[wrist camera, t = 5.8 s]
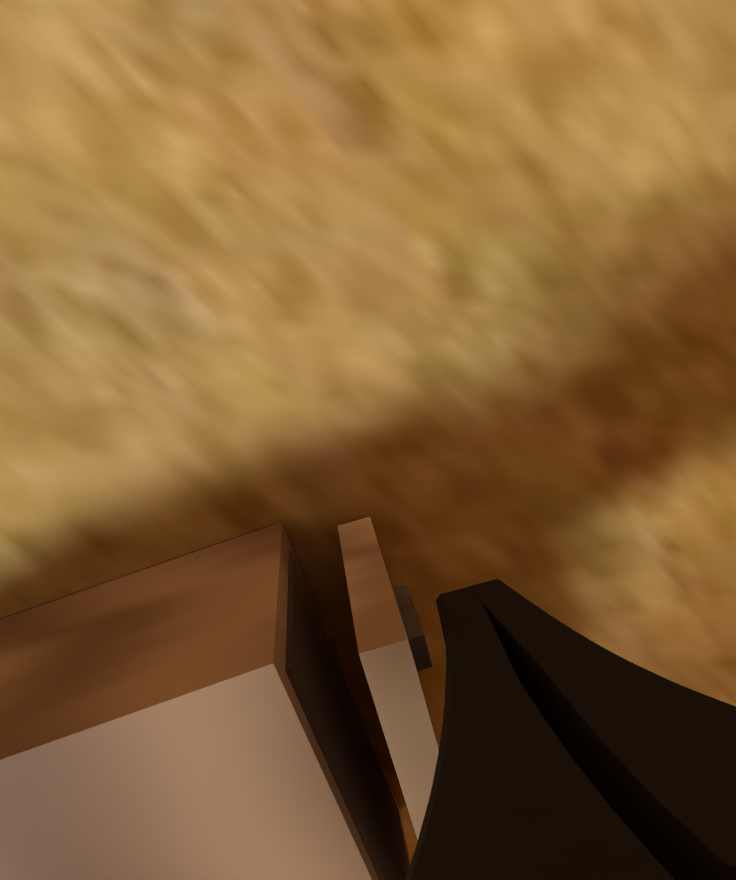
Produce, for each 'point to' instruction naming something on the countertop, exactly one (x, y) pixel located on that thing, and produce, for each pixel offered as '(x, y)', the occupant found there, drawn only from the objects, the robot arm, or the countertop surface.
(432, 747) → the door
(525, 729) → the robot arm
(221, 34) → the countertop surface
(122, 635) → the cabinet
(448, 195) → the countertop surface
